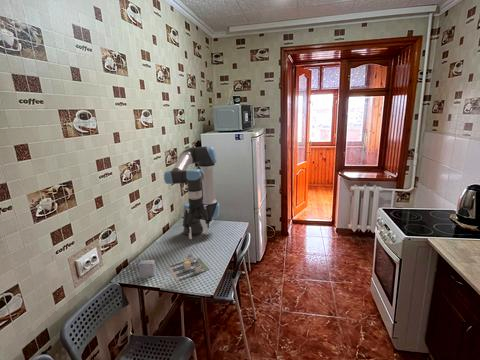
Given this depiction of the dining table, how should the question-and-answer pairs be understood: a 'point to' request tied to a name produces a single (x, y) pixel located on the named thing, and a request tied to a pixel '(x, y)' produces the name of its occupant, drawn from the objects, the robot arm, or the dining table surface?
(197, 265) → the block
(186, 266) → the block
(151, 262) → the medicine box
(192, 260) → the block
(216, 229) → the dining table surface
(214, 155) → the robot arm
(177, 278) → the panel
